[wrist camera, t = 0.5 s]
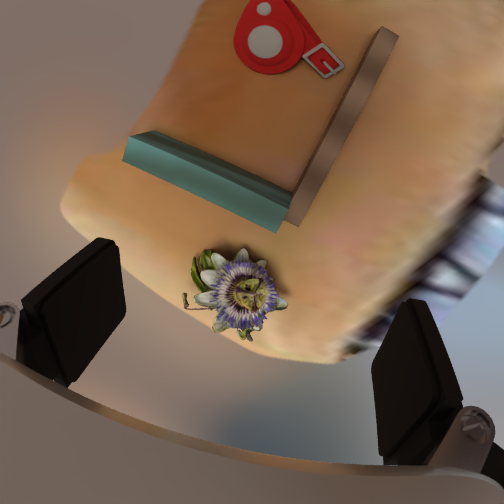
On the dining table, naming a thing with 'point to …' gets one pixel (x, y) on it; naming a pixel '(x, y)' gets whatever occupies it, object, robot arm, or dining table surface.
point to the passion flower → (235, 291)
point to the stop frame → (247, 184)
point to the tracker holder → (280, 39)
